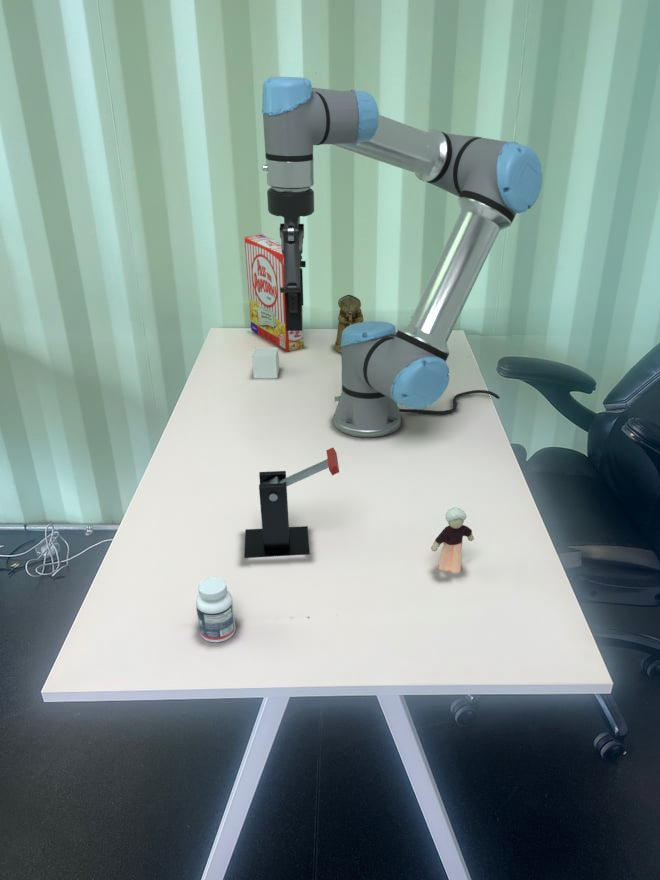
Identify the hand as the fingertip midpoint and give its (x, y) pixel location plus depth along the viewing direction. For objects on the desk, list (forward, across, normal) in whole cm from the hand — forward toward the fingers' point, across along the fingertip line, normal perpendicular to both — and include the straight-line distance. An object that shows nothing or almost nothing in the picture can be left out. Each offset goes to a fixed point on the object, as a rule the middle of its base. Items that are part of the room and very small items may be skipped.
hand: (295, 317), depth 133 cm
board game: (+33, -80, -8) cm, 87 cm away
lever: (+20, +22, +1) cm, 30 cm away
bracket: (+34, +22, -4) cm, 41 cm away
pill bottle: (+34, +44, -12) cm, 57 cm away
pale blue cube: (+34, -55, -10) cm, 65 cm away
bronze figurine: (+33, -70, +12) cm, 79 cm away
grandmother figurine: (+34, +31, +26) cm, 52 cm away
